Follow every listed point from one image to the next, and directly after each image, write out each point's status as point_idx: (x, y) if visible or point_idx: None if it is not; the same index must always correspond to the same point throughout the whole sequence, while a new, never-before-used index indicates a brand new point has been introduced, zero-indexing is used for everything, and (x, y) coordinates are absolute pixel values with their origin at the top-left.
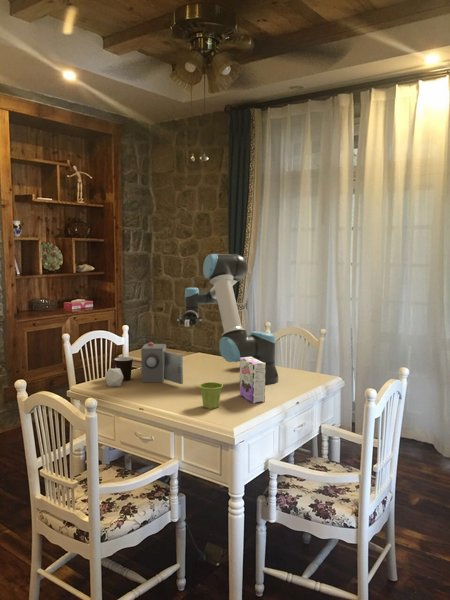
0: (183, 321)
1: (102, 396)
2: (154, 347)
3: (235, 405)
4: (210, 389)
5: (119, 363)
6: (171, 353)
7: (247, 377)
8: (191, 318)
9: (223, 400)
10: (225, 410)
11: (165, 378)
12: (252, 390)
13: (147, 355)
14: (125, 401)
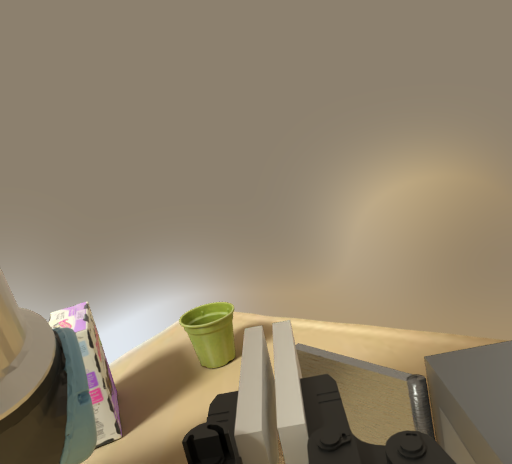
0: (329, 382)
1: None
2: (497, 363)
3: (161, 375)
4: (210, 304)
5: None
6: (357, 359)
7: (101, 351)
8: (194, 428)
9: (181, 393)
10: (190, 352)
11: None
12: (107, 363)
13: None
14: (437, 336)
